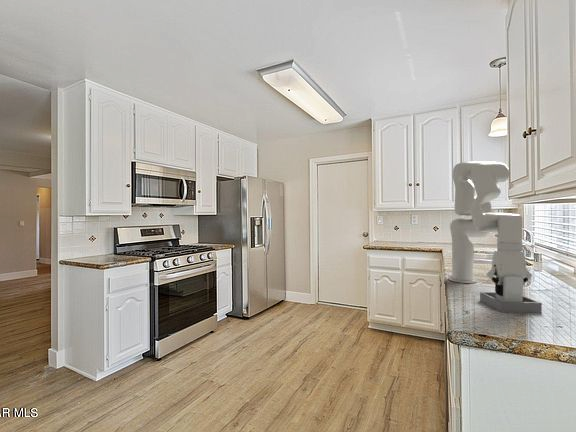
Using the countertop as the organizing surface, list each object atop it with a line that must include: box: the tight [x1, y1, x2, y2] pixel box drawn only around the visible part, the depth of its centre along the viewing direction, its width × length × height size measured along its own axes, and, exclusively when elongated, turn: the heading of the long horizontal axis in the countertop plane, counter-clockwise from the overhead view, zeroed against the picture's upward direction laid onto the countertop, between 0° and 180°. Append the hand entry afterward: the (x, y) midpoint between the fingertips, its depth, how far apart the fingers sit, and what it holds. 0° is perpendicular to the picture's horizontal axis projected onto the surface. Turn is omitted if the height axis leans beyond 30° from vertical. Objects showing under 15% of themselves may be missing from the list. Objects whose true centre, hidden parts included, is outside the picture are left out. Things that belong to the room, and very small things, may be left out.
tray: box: [479, 291, 543, 314], centre depth 116 cm, size 14×14×4 cm
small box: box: [496, 276, 524, 302], centre depth 116 cm, size 8×6×10 cm
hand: (508, 294), depth 116 cm, fingers open, 6 cm apart
